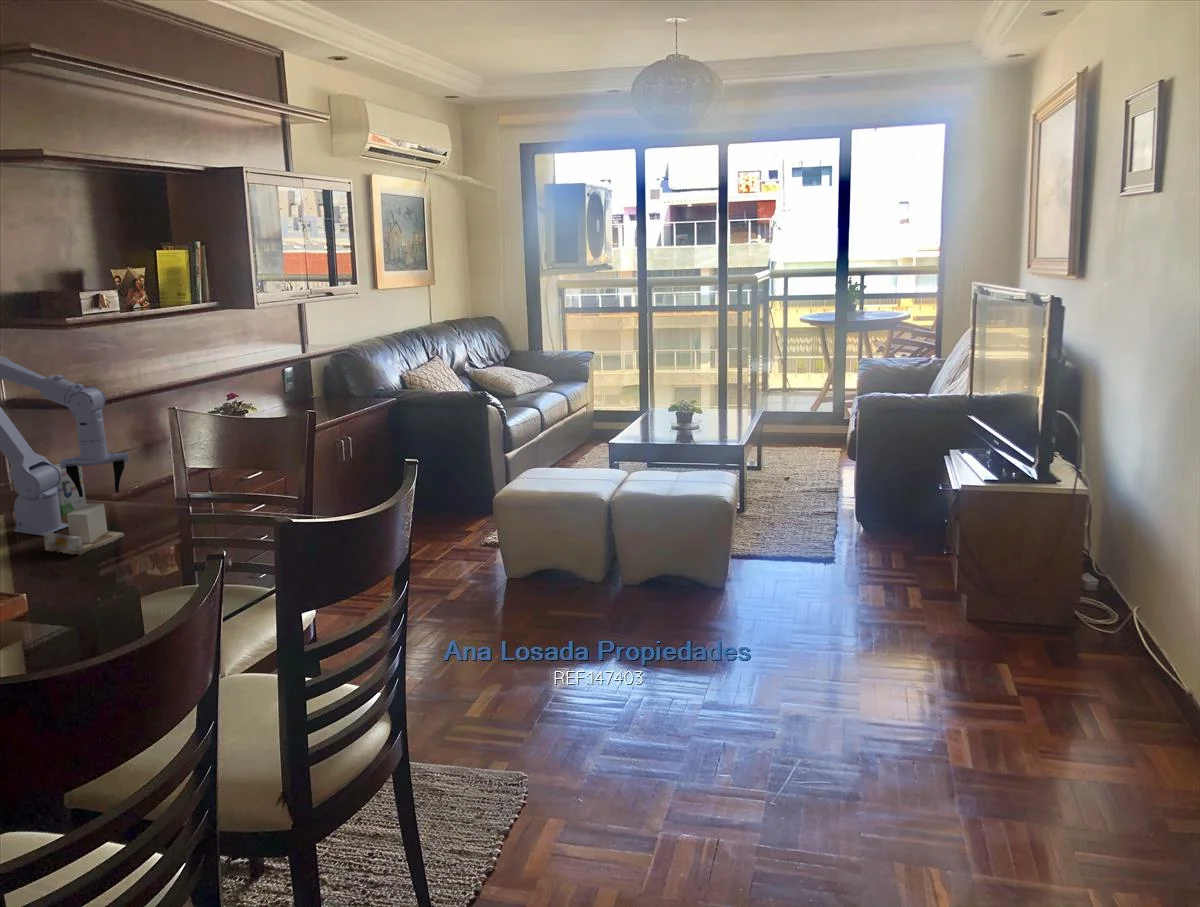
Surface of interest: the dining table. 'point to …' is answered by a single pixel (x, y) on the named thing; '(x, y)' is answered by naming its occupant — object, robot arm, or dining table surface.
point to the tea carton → (87, 522)
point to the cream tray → (76, 542)
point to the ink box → (69, 492)
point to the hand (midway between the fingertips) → (99, 493)
